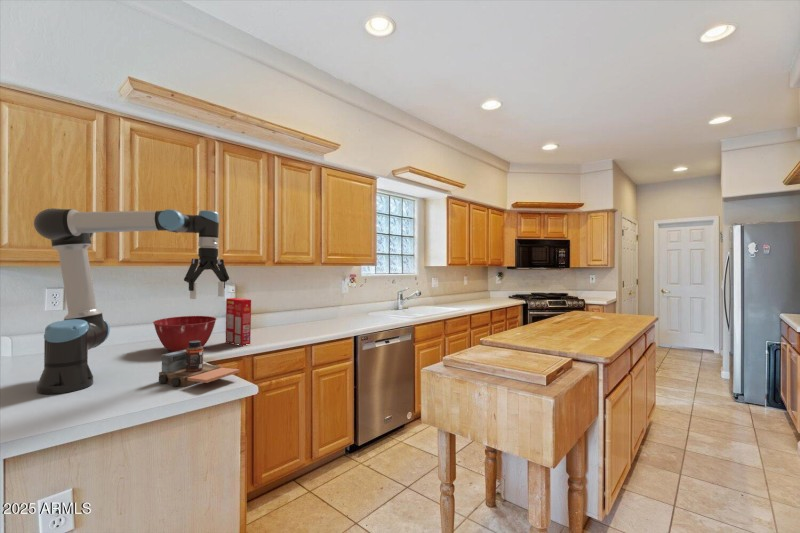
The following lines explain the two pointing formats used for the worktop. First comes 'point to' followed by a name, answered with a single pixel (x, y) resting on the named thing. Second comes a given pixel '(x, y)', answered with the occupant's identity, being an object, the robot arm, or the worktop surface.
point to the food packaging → (238, 321)
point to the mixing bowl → (184, 331)
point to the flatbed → (179, 369)
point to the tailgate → (213, 375)
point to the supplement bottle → (194, 356)
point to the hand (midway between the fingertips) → (207, 297)
